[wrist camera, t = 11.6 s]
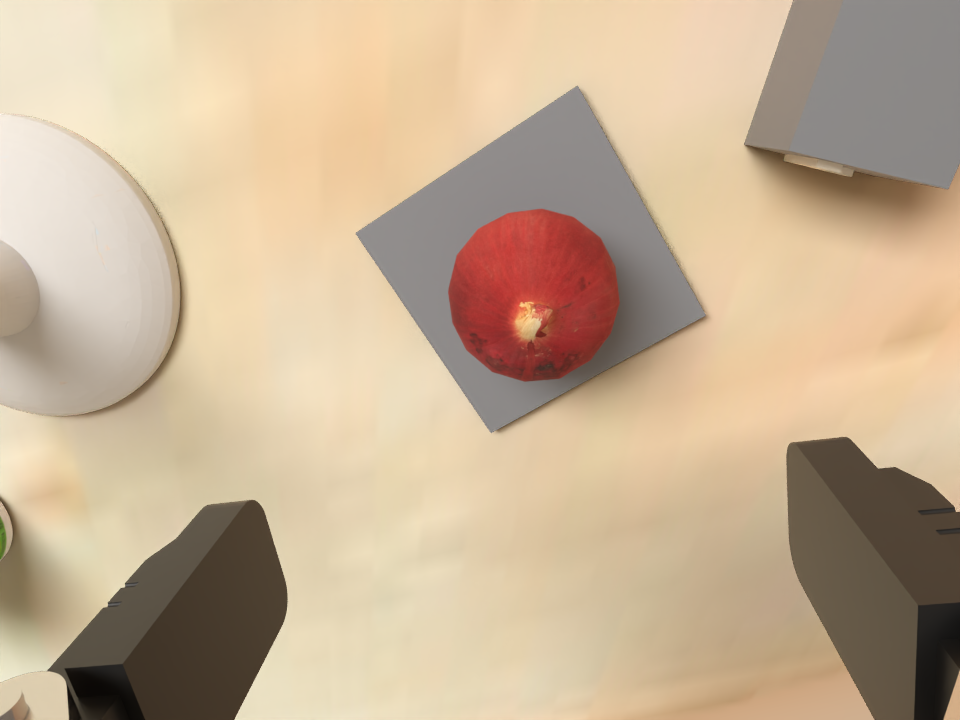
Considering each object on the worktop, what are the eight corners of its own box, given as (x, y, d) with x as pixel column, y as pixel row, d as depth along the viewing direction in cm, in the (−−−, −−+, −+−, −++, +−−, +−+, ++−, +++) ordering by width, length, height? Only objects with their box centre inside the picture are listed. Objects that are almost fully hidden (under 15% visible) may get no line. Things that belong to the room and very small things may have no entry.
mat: (576, 86, 26) (577, 85, 25) (702, 311, 28) (705, 315, 28) (359, 230, 28) (355, 233, 28) (491, 427, 31) (491, 433, 30)
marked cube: (793, -3, 24) (854, -31, 20) (933, 31, 24) (1027, 11, 20) (741, 151, 26) (785, 159, 21) (871, 182, 26) (944, 197, 22)
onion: (613, 336, 28) (640, 416, 21) (472, 351, 29) (448, 434, 21) (602, 188, 26) (626, 217, 19) (450, 208, 27) (416, 244, 20)
